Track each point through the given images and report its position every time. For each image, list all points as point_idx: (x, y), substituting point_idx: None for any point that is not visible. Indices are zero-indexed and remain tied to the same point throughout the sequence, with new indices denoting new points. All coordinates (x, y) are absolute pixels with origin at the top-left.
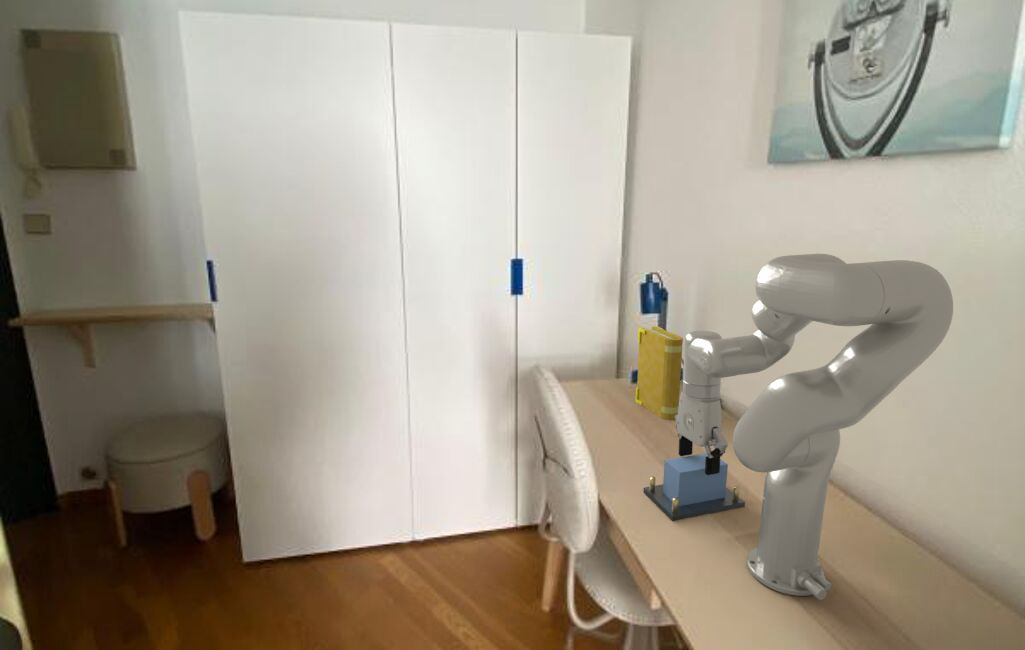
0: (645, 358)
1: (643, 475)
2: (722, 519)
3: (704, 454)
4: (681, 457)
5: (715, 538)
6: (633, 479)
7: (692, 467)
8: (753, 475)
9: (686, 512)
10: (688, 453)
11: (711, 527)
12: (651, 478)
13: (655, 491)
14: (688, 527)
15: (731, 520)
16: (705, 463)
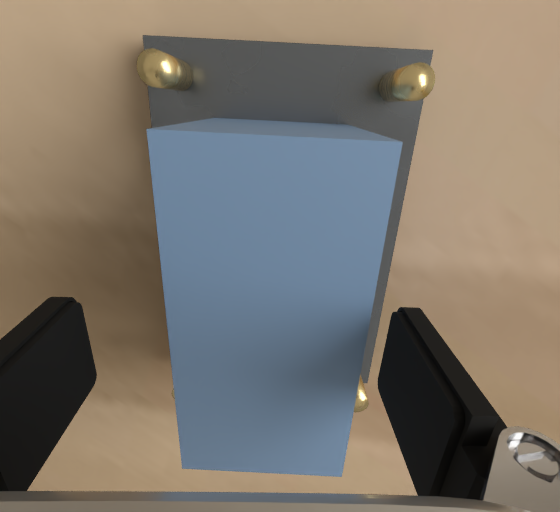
0: None
1: (546, 154)
2: (127, 252)
3: (337, 439)
4: (370, 299)
5: (11, 147)
6: (551, 78)
7: (204, 279)
8: (328, 479)
9: (157, 126)
10: (384, 369)
11: (84, 180)
12: (415, 66)
13: (370, 92)
14: (97, 86)
15: (116, 275)
16: (12, 349)
